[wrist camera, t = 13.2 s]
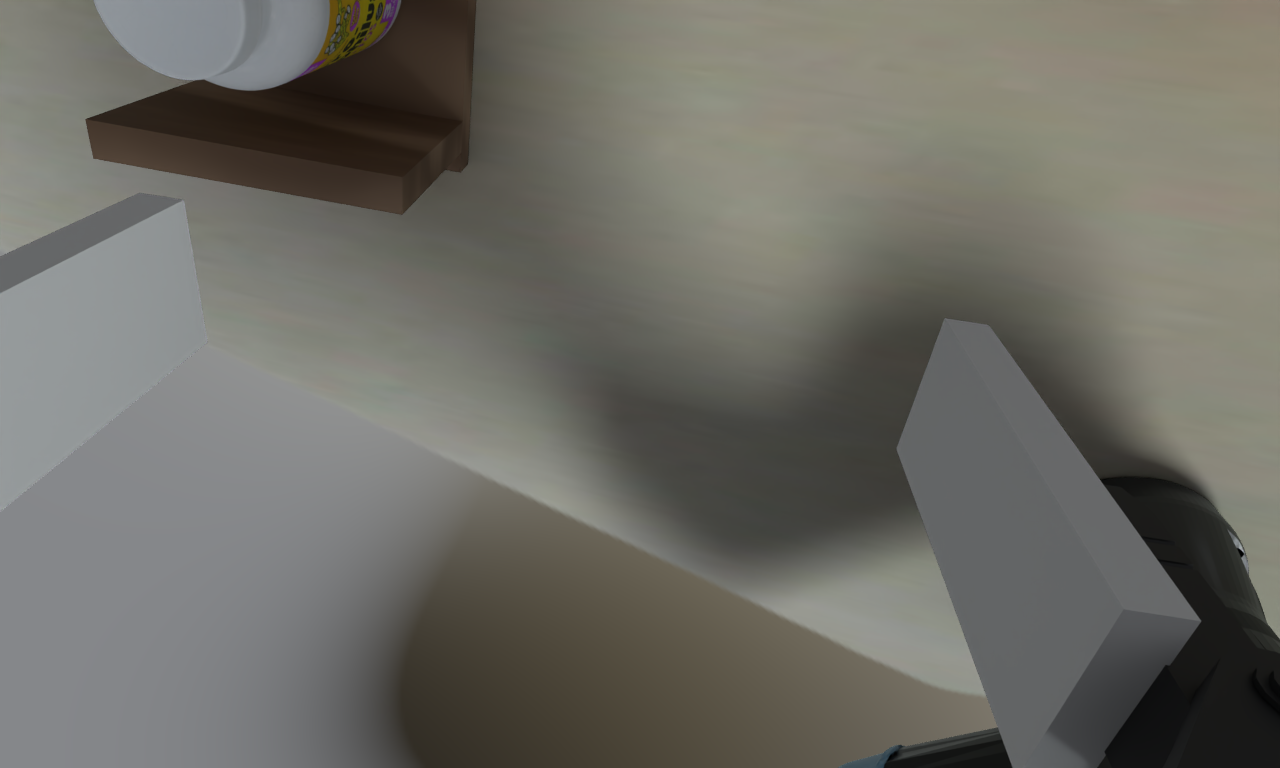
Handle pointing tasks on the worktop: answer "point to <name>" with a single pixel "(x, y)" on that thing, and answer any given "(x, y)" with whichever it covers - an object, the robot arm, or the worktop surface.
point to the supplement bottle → (245, 36)
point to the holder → (321, 120)
